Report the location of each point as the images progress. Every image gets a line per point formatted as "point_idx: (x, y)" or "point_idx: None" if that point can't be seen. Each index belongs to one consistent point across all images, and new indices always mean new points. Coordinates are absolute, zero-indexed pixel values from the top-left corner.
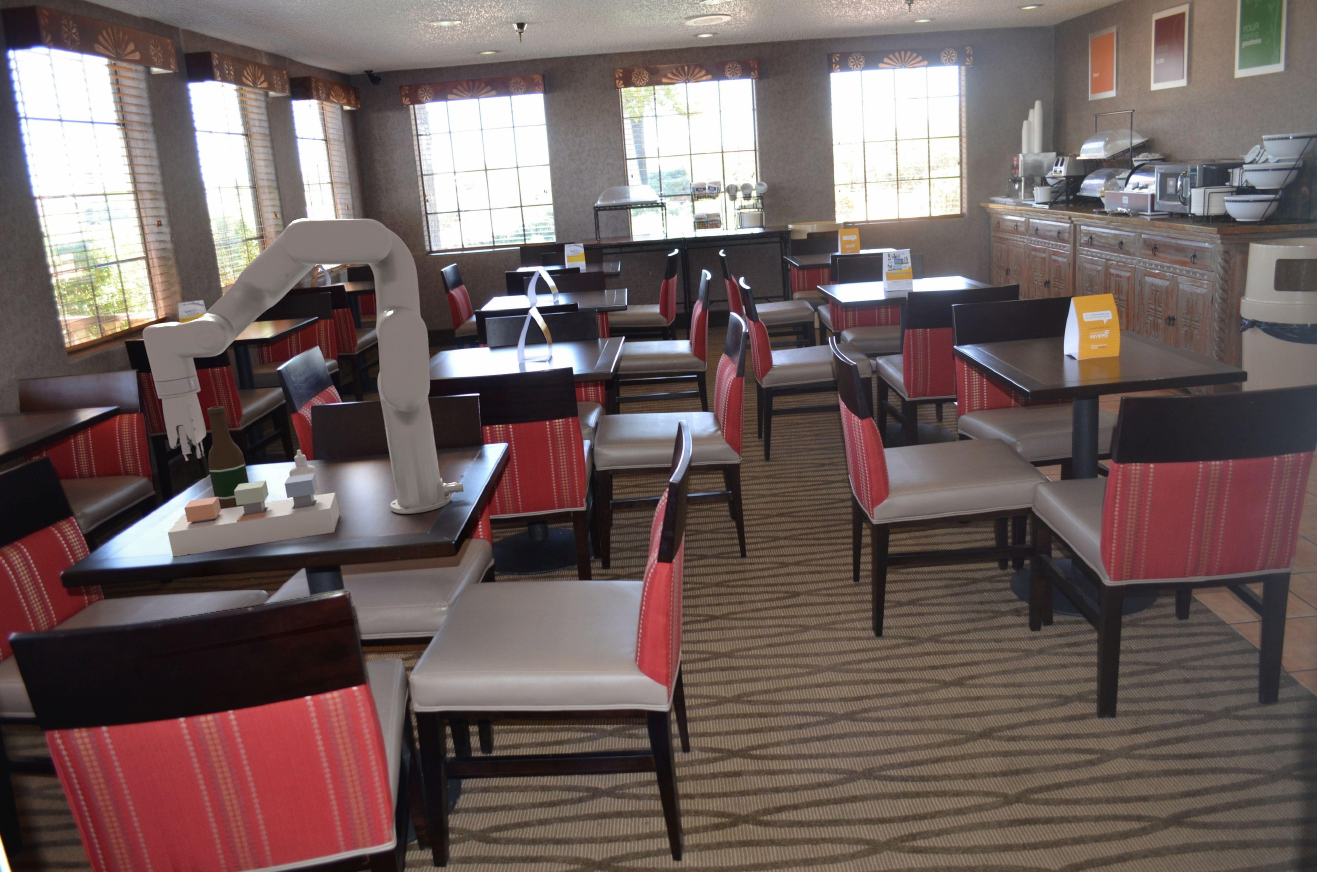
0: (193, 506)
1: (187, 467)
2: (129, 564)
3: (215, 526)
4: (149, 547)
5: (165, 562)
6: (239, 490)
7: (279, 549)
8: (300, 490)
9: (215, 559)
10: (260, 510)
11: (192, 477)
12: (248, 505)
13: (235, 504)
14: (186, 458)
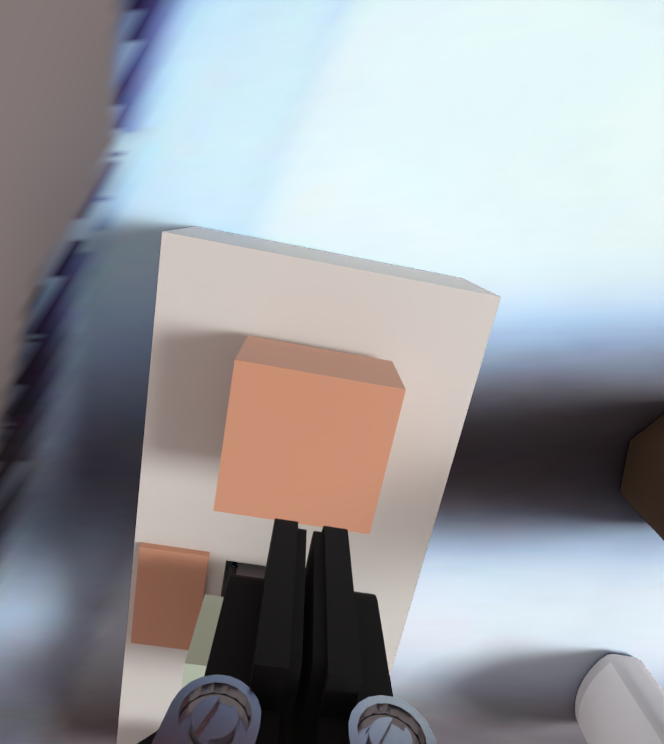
0: (228, 411)
1: (264, 595)
2: (209, 20)
3: (142, 454)
4: (442, 105)
5: (134, 195)
6: (183, 685)
7: (47, 589)
8: None
9: (53, 392)
10: None
11: (270, 542)
12: None
13: (653, 499)
14: (170, 721)
